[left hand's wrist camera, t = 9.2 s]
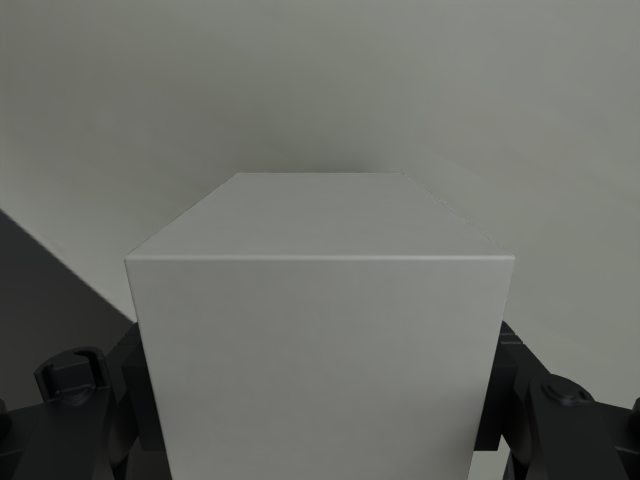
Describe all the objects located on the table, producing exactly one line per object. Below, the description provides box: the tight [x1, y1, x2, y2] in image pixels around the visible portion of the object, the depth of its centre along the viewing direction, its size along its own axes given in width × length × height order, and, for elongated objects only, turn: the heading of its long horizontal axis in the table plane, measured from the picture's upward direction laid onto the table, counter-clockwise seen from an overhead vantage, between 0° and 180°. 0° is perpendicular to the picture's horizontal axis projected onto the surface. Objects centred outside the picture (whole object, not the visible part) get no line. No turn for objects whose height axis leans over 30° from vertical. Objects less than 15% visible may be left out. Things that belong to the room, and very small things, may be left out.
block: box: [124, 173, 515, 480], centre depth 12 cm, size 8×8×10 cm
